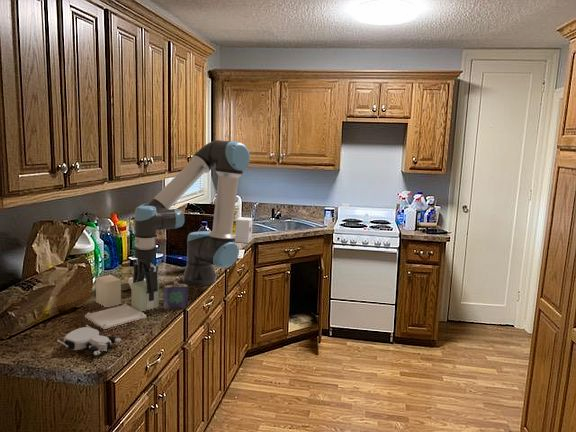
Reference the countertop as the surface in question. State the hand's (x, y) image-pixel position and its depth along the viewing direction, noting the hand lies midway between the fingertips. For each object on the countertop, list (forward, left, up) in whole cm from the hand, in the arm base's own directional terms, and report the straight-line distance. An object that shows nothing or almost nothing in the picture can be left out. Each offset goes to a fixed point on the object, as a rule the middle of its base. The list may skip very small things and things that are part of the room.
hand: (145, 305), depth 175 cm
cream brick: (+8, -13, -1) cm, 15 cm away
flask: (-9, +7, -1) cm, 11 cm away
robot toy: (+30, +18, -1) cm, 35 cm away
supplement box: (-107, -59, -1) cm, 122 cm away
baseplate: (+13, +2, -1) cm, 13 cm away
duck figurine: (-8, -17, -1) cm, 19 cm away
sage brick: (0, 0, -1) cm, 1 cm away
